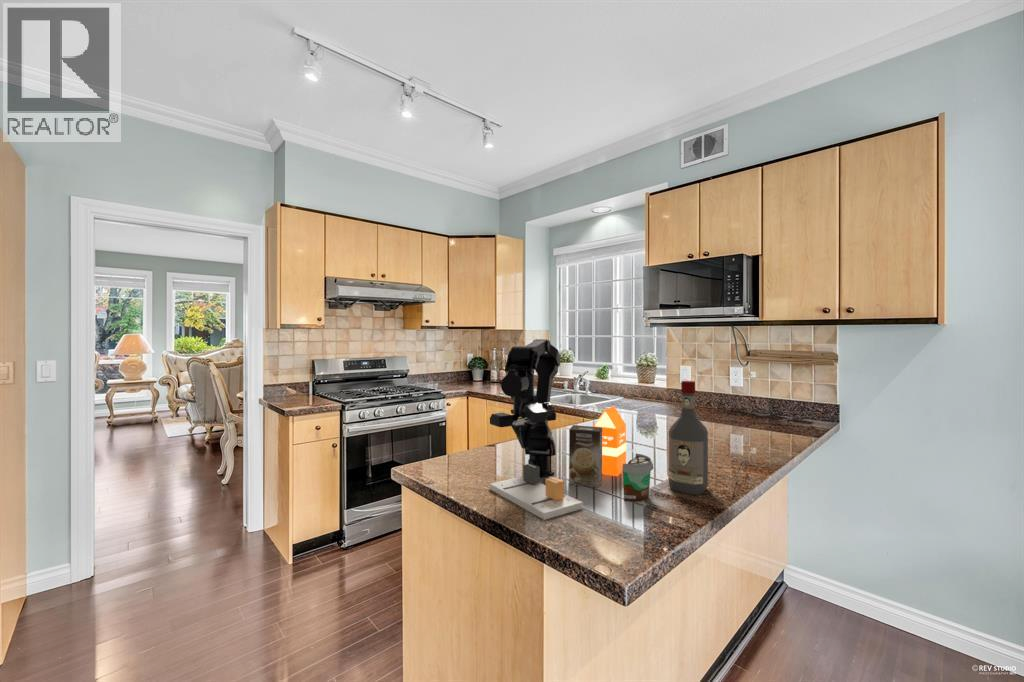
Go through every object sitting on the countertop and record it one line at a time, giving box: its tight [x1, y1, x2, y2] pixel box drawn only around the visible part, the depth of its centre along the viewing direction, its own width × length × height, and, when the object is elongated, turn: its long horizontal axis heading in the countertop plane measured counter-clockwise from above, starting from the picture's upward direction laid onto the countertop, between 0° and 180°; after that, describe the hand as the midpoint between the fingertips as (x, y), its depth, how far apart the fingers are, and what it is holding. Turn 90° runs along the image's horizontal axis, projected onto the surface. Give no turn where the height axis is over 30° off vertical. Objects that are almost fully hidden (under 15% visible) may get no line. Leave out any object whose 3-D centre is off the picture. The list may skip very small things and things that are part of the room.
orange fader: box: [544, 476, 565, 501], centre depth 114 cm, size 3×4×5 cm
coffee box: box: [568, 424, 603, 488], centre depth 131 cm, size 9×6×16 cm
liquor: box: [668, 380, 709, 496], centre depth 125 cm, size 9×9×30 cm
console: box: [489, 475, 584, 521], centre depth 118 cm, size 12×25×2 cm, turn 33°
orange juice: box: [592, 406, 627, 477], centre depth 142 cm, size 8×9×20 cm
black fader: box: [522, 463, 541, 484], centre depth 126 cm, size 3×4×5 cm
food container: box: [622, 453, 654, 503], centre depth 119 cm, size 12×6×10 cm, turn 148°
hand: (523, 448), depth 123 cm, fingers closed
